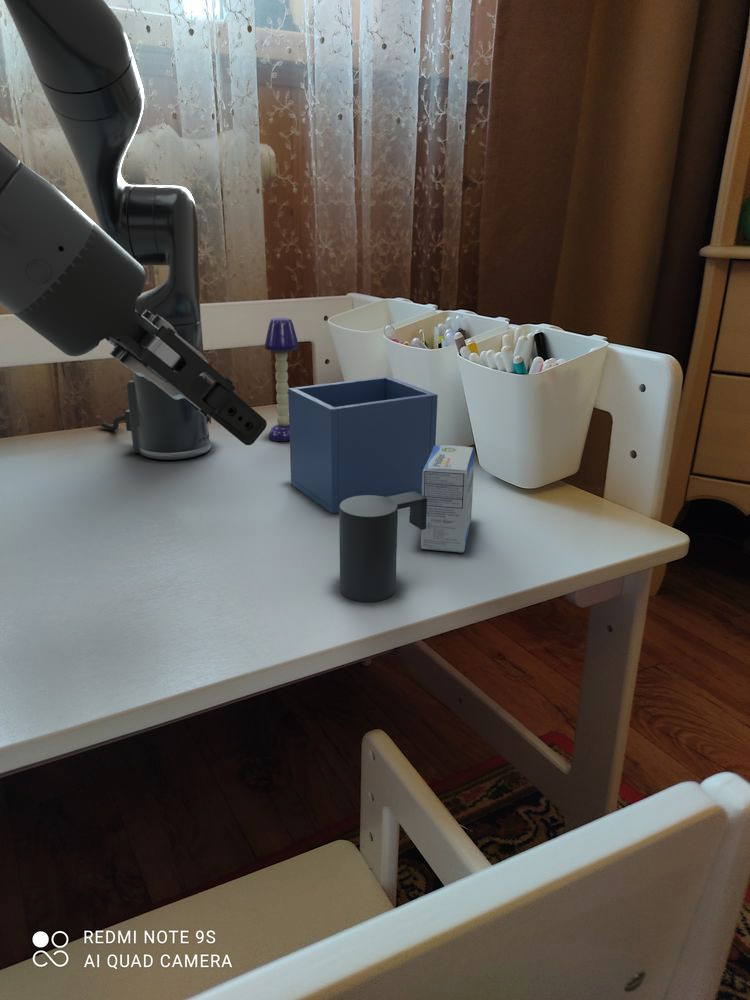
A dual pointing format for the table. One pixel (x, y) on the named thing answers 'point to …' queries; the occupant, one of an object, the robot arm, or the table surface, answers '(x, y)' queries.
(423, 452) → the box
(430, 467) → the medicine box
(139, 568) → the table surface
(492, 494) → the table surface
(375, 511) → the mug
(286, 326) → the toy lamp
